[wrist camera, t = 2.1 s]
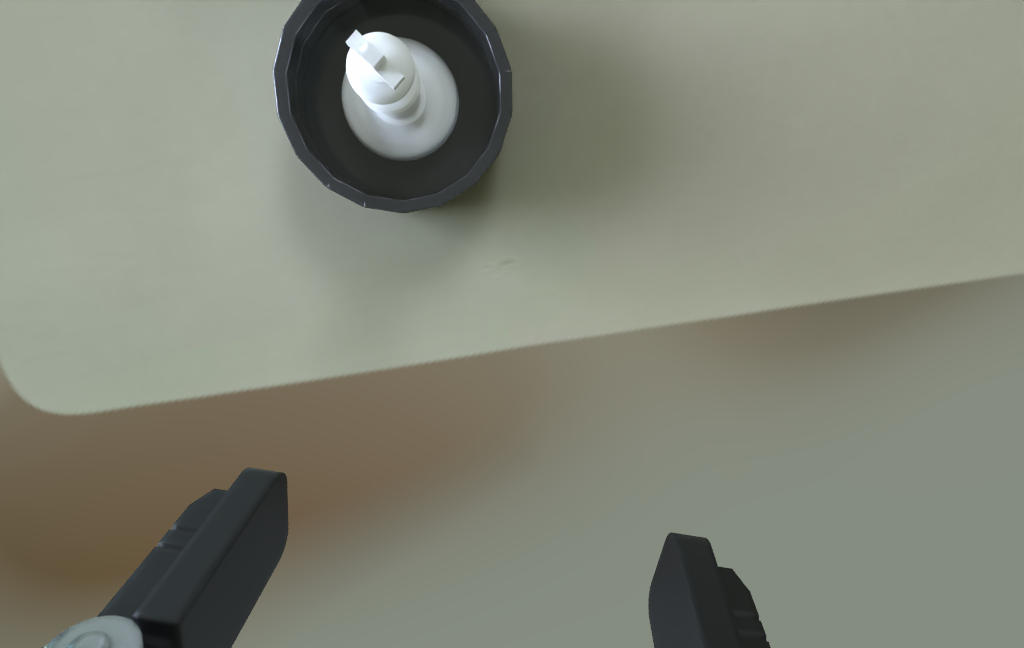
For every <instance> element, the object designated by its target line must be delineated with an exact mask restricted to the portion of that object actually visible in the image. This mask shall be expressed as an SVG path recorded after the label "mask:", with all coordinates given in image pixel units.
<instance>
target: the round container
mask: <svg viewBox="0 0 1024 648" xmlns="http://www.w3.org/2000/svg"><path fill="white" fill-rule="evenodd" d="M355 30H357V31H358V32H359V33H360V34H361V35H362V36H363V35H365V34H368V33H372V32H384V33H388V34H391V35H393V36H395V37H402V38H408V39H412V40H415V41H418V42H420V43H422V44H424V45H426V46H427V47H429V48H430V49H432V50H433V51H434V52H435V53H437V54H438V55H439V56H440V57H441V58H442V59H443V61H444V62H445V63H446V65H447V66H448V68H449V69H450V71H451V73H452V75H453V77H454V79H455V82H456V85H457V89H458V95H459V111H458V117H457V121H456V124H455V126H454V129H453V131H452V133H451V134H450V136H449V137H448V139H447V140H446V141H445V143H444V144H443V145H442V146H441V147H440V148H438V149H437V150H436V151H434V152H433V153H431V154H429V155H427V156H425V157H423V158H420V159H416V160H410V161H398V160H392V159H388V158H385V157H382V156H380V155H378V154H376V153H374V152H372V151H371V150H369V149H368V148H367V147H365V146H364V145H363V144H362V143H361V142H360V141H359V140H358V139H357V137H356V136H355V135H354V133H353V132H352V130H351V128H350V127H349V125H348V122H347V120H346V117H345V114H344V110H343V106H342V95H341V94H342V83H343V79H344V75H345V72H346V60H347V55H348V52H349V50H350V47H349V46H348V45H347V43H346V41H347V40H348V38H349V37H350V36H351V35H352V34H353V33H354V31H355ZM273 78H274V87H275V96H276V105H277V114H278V115H279V116H278V117H279V119H280V122H281V124H282V126H283V128H284V130H285V132H286V134H287V137H288V139H289V141H290V143H291V145H292V147H293V149H294V151H295V154H296V155H297V156H298V158H299V159H300V160H301V161H302V162H303V163H304V164H305V165H306V166H307V168H308V169H309V170H310V171H311V172H312V173H313V174H314V175H315V176H316V177H317V178H318V179H319V180H320V181H321V182H322V183H323V184H324V185H325V186H326V187H327V188H328V189H330V190H332V191H334V192H336V193H338V194H339V195H341V196H343V197H345V198H347V199H349V200H351V201H353V202H355V203H357V204H358V205H360V206H362V207H365V208H371V209H378V210H385V211H391V212H398V213H408V212H413V211H417V210H422V209H427V208H432V207H437V206H441V205H444V204H445V203H447V202H448V201H450V200H452V199H453V198H455V197H456V196H458V195H460V194H461V193H463V192H464V191H466V190H468V189H469V188H471V187H472V186H474V185H475V184H476V183H477V182H478V181H479V179H480V178H481V177H482V175H483V174H484V173H485V172H486V170H487V169H488V168H489V166H490V165H491V164H492V162H493V161H494V160H495V159H496V157H497V156H498V155H499V152H500V151H501V148H502V144H503V141H504V138H505V135H506V132H507V129H508V126H509V123H510V120H511V117H512V72H511V67H510V64H509V61H508V59H507V56H506V53H505V50H504V47H503V45H502V42H501V39H500V36H499V33H498V30H497V29H496V27H495V26H494V24H493V23H492V22H491V20H490V19H489V18H488V17H487V15H486V14H485V13H484V12H483V10H482V9H481V8H480V6H479V5H478V4H477V3H476V1H475V0H302V1H301V2H300V4H299V5H298V6H297V8H296V9H295V11H294V12H293V14H292V15H291V17H290V18H289V20H288V21H287V22H286V24H285V25H284V28H283V30H282V34H281V38H280V42H279V47H278V51H277V55H276V59H275V63H274V68H273Z"/></svg>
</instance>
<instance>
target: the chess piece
mask: <svg viewBox="0 0 1024 648" xmlns="http://www.w3.org/2000/svg"><path fill="white" fill-rule="evenodd" d="M346 43H347V45H348V46H349V47H350V50H349V52H348V55H347V60H346V72H345V75H344V79H343V83H342V94H341V95H342V106H343V110H344V114H345V117H346V120H347V122H348V125H349V127H350V128H351V130H352V132H353V133H354V135H355V136H356V137H357V139H358V140H359V141H360V142H361V143H362V144H363V145H364V146H365V147H367V148H368V149H369V150H371V151H372V152H374V153H376V154H378V155H380V156H382V157H385V158H388V159H392V160H398V161H410V160H416V159H420V158H423V157H425V156H427V155H429V154H431V153H433V152H434V151H436V150H437V149H438V148H440V147H441V146H442V145H443V144H444V143H445V141H446V140H447V139H448V137H449V136H450V134H451V133H452V131H453V129H454V126H455V124H456V121H457V117H458V111H459V95H458V89H457V85H456V82H455V79H454V77H453V75H452V73H451V71H450V69H449V68H448V66H447V65H446V63H445V62H444V61H443V59H442V58H441V57H440V56H439V55H438V54H437V53H435V52H434V51H433V50H432V49H430V48H429V47H427V46H426V45H424V44H422V43H420V42H418V41H415V40H412V39H408V38H402V37H395V36H393V35H391V34H388V33H384V32H372V33H368V34H365V35H363V36H362V35H361V34H360V33H359V32H358V31H357V30H355V31H354V33H353V34H352V35H351V36H350V37H349V38H348V40H347V41H346Z"/></svg>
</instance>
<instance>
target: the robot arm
mask: <svg viewBox="0 0 1024 648" xmlns="http://www.w3.org/2000/svg"><path fill="white" fill-rule="evenodd" d="M287 535H288V499H287V477H286V475H285V474H284V473H281V472H274V471H269V470H262V469H256V468H250V467H249V468H246V469H245V470H243V472H242V473H241V474H240V475H239V477H238V478H237V479H236V481H235V482H234V483H233V484H232V486H231V487H230V489H229V490H228V491H226V490H219V489H213V490H212V491H211V492H209V493H207V494H206V495H204V496H202V497H201V498H199V499H198V500H196V501H195V502H193V503H192V504H190V505H189V506H188V507H187V509H186V510H185V511H184V512H183V514H182V515H181V516H180V517H179V518H178V520H177V521H176V522H175V523H174V524H173V527H172V529H171V530H169V531H168V532H167V533H166V534H165V535H164V537H163V538H162V539H161V540H160V541H159V544H158V546H157V547H155V548H154V549H153V550H152V551H151V553H150V554H149V555H148V556H147V557H146V558H145V560H144V561H143V562H142V563H141V564H140V566H139V567H138V568H137V569H136V570H135V572H134V573H133V574H132V575H131V577H130V578H129V579H128V580H127V581H126V583H125V584H124V585H123V586H122V588H121V589H120V590H119V591H118V592H117V594H116V595H115V596H114V597H113V598H112V600H111V601H110V602H109V603H108V604H107V606H106V607H105V608H104V609H103V611H102V612H101V613H100V614H99V615H98V616H97V617H95V618H92V619H88V620H85V621H83V622H80V623H78V624H76V625H74V626H72V627H70V628H68V629H67V630H65V631H64V632H62V633H61V634H59V635H58V636H57V637H55V638H54V639H53V640H52V641H51V642H50V643H49V644H48V645H46V647H43V648H231V647H232V645H233V643H234V641H235V640H236V638H237V636H238V634H239V633H240V631H241V629H242V627H243V625H244V624H245V622H246V620H247V618H248V616H249V615H250V613H251V611H252V609H253V607H254V606H255V604H256V602H257V600H258V598H259V596H260V595H261V593H262V591H263V589H264V587H265V586H266V584H267V582H268V580H269V578H270V577H271V575H272V573H273V571H274V569H275V568H276V566H277V564H278V562H279V560H280V558H281V556H282V553H283V551H284V548H285V544H286V540H287ZM649 619H650V624H651V630H652V636H653V642H654V647H655V648H770V645H769V642H767V641H766V634H765V631H764V628H763V626H762V623H761V621H759V615H758V612H757V609H756V607H755V604H754V601H753V599H752V596H751V593H750V591H749V590H748V589H747V587H746V586H745V585H744V584H743V582H742V581H741V580H740V578H739V577H738V576H737V575H736V574H735V572H734V571H733V569H730V568H723V567H718V566H717V563H716V559H715V557H714V553H713V550H712V547H711V544H710V542H709V540H708V539H707V538H702V537H696V536H690V535H683V534H677V533H670V534H668V536H667V538H666V540H665V543H664V546H663V549H662V553H661V555H660V559H659V561H658V565H657V568H656V571H655V574H654V577H653V580H652V583H651V586H650V592H649Z"/></svg>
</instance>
